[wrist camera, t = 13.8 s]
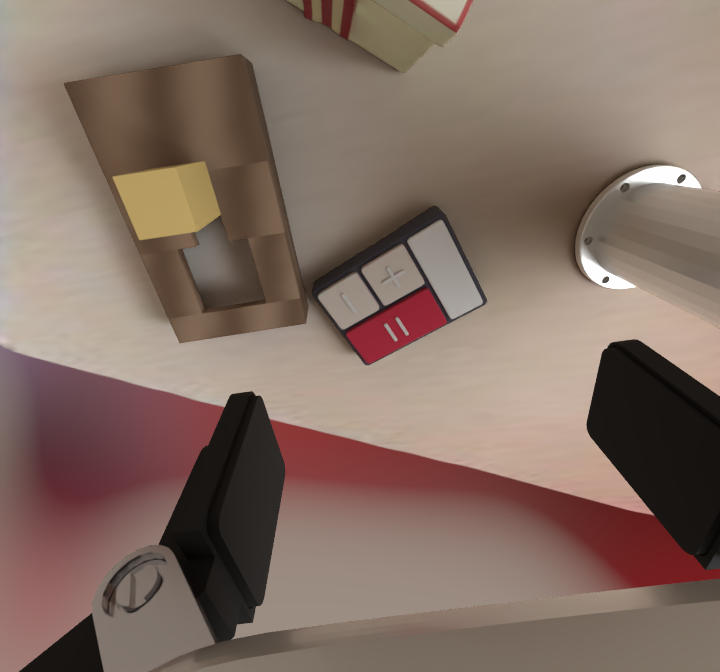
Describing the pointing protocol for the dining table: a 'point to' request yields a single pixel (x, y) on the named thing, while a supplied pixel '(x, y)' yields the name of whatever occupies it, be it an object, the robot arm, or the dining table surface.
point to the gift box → (391, 24)
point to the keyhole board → (227, 174)
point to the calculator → (400, 288)
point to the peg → (168, 199)
